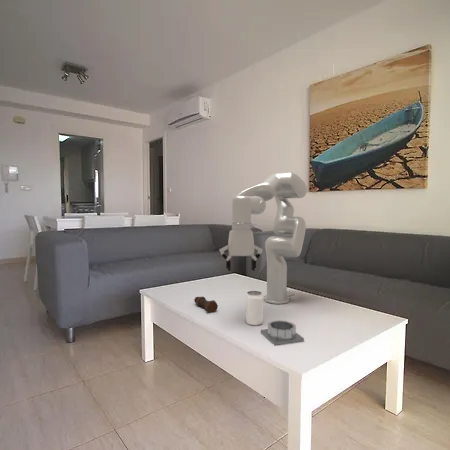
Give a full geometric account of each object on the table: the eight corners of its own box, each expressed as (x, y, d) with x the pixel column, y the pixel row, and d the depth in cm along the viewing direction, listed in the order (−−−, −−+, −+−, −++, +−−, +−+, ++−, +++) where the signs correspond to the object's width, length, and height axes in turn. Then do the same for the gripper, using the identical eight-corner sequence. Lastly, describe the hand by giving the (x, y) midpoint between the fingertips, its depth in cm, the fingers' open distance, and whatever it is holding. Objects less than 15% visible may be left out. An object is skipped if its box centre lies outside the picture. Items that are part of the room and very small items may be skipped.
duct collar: (287, 329, 113) (287, 318, 113) (303, 341, 103) (304, 329, 103) (260, 332, 110) (260, 321, 110) (274, 345, 100) (274, 333, 99)
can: (252, 318, 124) (252, 289, 123) (265, 322, 120) (265, 292, 119) (242, 323, 119) (242, 293, 118) (256, 327, 115) (256, 296, 114)
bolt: (198, 307, 144) (214, 315, 132) (190, 303, 142) (205, 311, 129) (203, 295, 146) (219, 303, 133) (195, 291, 144) (210, 298, 131)
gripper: (260, 226, 125) (260, 268, 126) (218, 226, 123) (218, 268, 124) (265, 227, 117) (264, 271, 118) (220, 227, 116) (220, 272, 116)
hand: (241, 270), depth 121 cm, fingers open, 9 cm apart
